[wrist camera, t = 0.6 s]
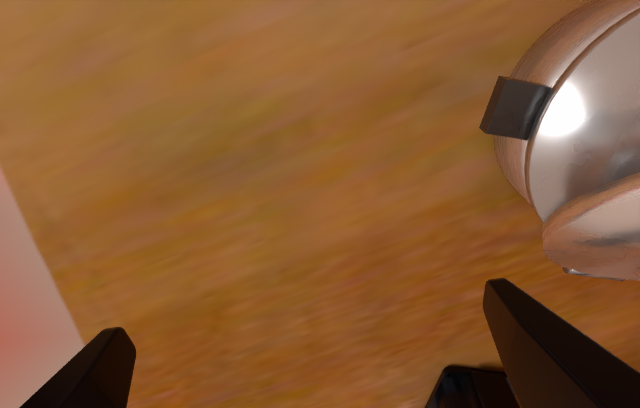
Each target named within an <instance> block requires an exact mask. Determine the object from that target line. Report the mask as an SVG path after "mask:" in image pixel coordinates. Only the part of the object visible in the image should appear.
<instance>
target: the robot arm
mask: <svg viewBox="0 0 640 408" xmlns="http://www.w3.org/2000/svg"><path fill="white" fill-rule="evenodd" d="M483 310H484V314H485V316H486V319H487V322H488V325H489V328H490V331H491V333H492V336H493V339H494V342H495V345H496V348H497V350H498V353H499V356H500V359H501V362H502V364H503V367H504V370H505V372H506V373H499V372H491V371H482V370H474V369H466V368H458V367H446V368H444V369H443V371H442V373H441V375H440V377H439V379H438V381H437V383H436V386H435V388H434V390H433V392H432V394H431V396H430V398H429V400H428V402H427V404H426V406H425V408H520V406H519V404H518V402H517V400H516V398H515V395H516V396H517V398H518V400H519V402H520V404H521V406H522V408H640V373H639V372H638V371H636V370H635V369H633V368H632V367H630V366H629V365H628V364H626V363H625V362H623V361H622V360H620V359H619V358H618V357H616V356H615V355H613V354H612V353H611V352H609V351H608V350H606V349H605V348H603V347H602V346H601V345H599V344H598V343H596V342H595V341H594V340H592V339H591V338H589V337H588V336H586V335H585V334H584V333H582V332H581V331H579V330H578V329H577V328H575V327H574V326H572V325H571V324H569V323H568V322H567V321H565V320H564V319H562V318H561V317H559V316H558V315H557V314H555V313H554V312H552V311H551V310H550V309H548V308H547V307H545V306H544V305H542V304H541V303H540V302H538V301H537V300H535V299H534V298H533V297H531V296H530V295H528V294H527V293H525V292H524V291H523V290H521V289H520V288H518V287H517V286H515V285H514V284H513V283H511V282H510V281H508V280H507V279H504V278H498V279H490V280H488V281H487V282H486V284H485V291H484V298H483ZM135 359H136V349H135V346H134V344H133V343H132V341H131V339H130V338H129V336H128V335H127V333H126V331H125V330H124V329H123V328H121V327H114V328H107V329H104V330H102V331H101V332H100V333H99V334H98V335H97V336H96V337H95V338H93V339H92V340H91V341H90V342H89V343H88V344H87V345H86V346H85V347H84V348H83V349H82V350H81V351H80V352H78V353H77V354H76V355H75V356H74V357H73V358H72V359H71V360H70V361H69V362H68V363H67V364H66V365H65V366H63V368H61V369H60V370H59V371H58V372H57V373H56V374H55V375H54V376H53V377H52V378H51V379H50V380H49V381H47V382H46V383H45V384H44V385H43V386H42V387H41V388H40V389H39V390H38V391H37V392H36V393H35V394H34V395H32V396H31V397H30V398H29V399H28V400H27V401H26V402H25V403H24V404H23V405H22V406H21V407H20V408H126V407H127V401H128V396H129V391H130V385H131V380H132V375H133V369H134V364H135Z"/></svg>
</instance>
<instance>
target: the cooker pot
mask: <svg viewBox="0 0 640 408" xmlns="http://www.w3.org/2000/svg"><path fill="white" fill-rule="evenodd" d="M479 128H480V129H481V130H482V131H483V132H485V133H487V134H492V135H494V147H495V153H496V157H497V161H498V163H499V165H500V168H501V170H502V172H503V174H504V175H505V177H506V178H507V180H508V181H509V182H510V183H511V185H512V186H513V187H514V188H515V189H516V190H517V191H518V192H519V193H520V194H521V195H522V196H523V197H524V198H525V199H526V200H527V201H528V202H529V203H530V204H531V205H532V207H533V209H534V211H535V212H536V214H537V215H538V217H539V219H540V220H541V221H542V222H543V223H545V221H546V220H547V219H548V218H549V217H550V215H551V214H552V213H553V212H555V211H556V210H557V209H559V208H560V207H562V206H563V205H564V204H566V203H568V202H570V201H571V200H573V199H575V198H577V197H579V196H580V195H583V194H585V193H587V192H589V191H591V190H594V189H596V188H598V187H600V186H603V185H606V184H608V183H611V182H614V181H616V180H619V179H622V178H624V177H627V176H630V175H634V174H637V173H640V0H593V1H591V2H589V3H587V4H585V5H583V6H581V7H580V8H578V9H576V10H574V11H573V12H571V13H569V14H568V15H567V16H565V17H564V18H562V19H561V20H560V21H558V22H557V23H555V24H554V25H553V26H552V27H551V28H550V29H549V30H547V31H546V32H545V33H544V34H543V35H542V36H541V37H540V38H539V39H538V40H537V41H536V42H535V43H534V44H533V45H532V46H531V48H530V49H529V50H528V51H527V52H526V54H525V55H524V56H523V58H522V59H521V60H520V62H519V63H518V64H517V66H516V68H515V69H514V71H513V73H512V74H511V76H510V78H509V77H503V76H499V77H498V80H497V82H496V85H495V88H494V90H493V93H492V96H491V98H490V101H489V103H488V106H487V109H486V111H485V114H484V117H483V119H482V122H481V125H480V127H479Z"/></svg>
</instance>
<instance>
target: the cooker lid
mask: <svg viewBox="0 0 640 408" xmlns="http://www.w3.org/2000/svg"><path fill="white" fill-rule="evenodd" d="M542 237H543V247H544V252H545V254H546V256H547V257H548V258H549V259H550V260H551V261H553V262H554V263H556V264H558V265H560V266H563V270H564V272H566V273H569V274H576V275H583V276H590V277H597V278H603V279H610V280H617V281H624V280H626V279H628V280H639V281H640V173H637V174H634V175H630V176H627V177H624V178H622V179H619V180H616V181H614V182H611V183H608V184H606V185H603V186H600V187H598V188H596V189H594V190H591V191H589V192H587V193H585V194H583V195H580V196H579V197H577V198H575V199H573V200H571V201H570V202H568V203H566V204H564V205H563V206H562V207H560V208H559V209H557V210H556V211H555V212H553V213H552V214H551V215H550V217H549V218H548V219H547V220H546V221H545V223H544V225H543V227H542Z"/></svg>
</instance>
